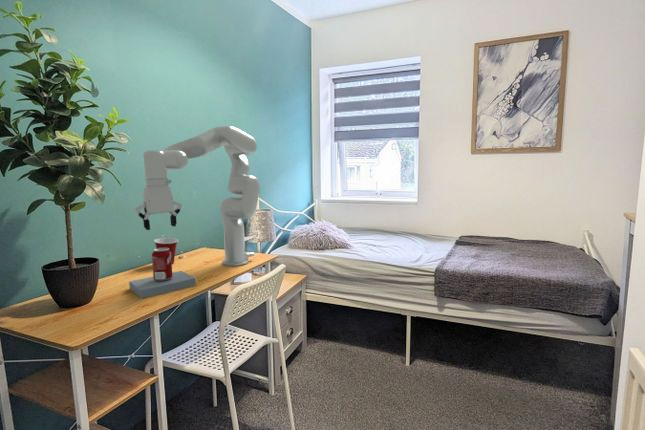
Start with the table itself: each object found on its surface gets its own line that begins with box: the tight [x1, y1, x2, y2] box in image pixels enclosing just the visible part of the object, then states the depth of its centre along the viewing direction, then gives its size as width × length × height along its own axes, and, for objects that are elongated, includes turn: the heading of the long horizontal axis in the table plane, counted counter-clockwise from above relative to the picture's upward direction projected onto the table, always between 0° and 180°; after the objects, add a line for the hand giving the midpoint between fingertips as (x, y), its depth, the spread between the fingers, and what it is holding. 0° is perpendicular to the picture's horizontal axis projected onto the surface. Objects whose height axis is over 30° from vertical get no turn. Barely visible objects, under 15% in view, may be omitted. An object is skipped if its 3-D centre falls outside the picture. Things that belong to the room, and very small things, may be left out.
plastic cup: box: [153, 237, 179, 265], centre depth 173 cm, size 11×11×12 cm
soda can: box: [151, 248, 173, 281], centre depth 138 cm, size 7×7×12 cm
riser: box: [128, 270, 197, 299], centre depth 139 cm, size 20×14×3 cm
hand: (160, 227), depth 139 cm, fingers open, 9 cm apart
